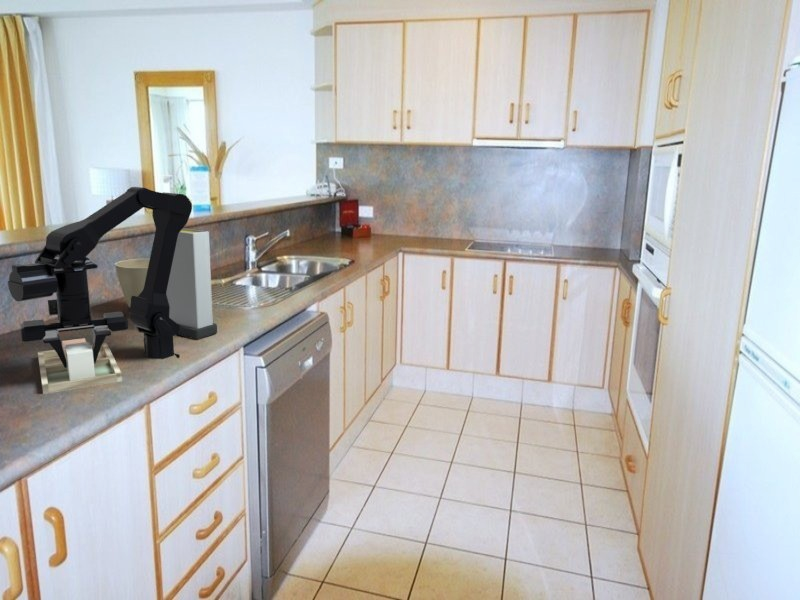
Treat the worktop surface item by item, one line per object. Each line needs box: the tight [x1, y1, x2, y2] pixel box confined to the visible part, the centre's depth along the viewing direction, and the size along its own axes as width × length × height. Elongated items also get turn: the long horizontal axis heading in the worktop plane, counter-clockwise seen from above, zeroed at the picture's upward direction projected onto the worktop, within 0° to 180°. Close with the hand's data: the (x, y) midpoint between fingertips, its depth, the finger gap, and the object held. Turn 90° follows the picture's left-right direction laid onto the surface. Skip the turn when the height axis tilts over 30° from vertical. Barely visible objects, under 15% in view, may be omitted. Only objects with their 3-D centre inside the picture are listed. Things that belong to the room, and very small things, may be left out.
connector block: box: [65, 341, 95, 380], centre depth 116 cm, size 4×7×6 cm, turn 34°
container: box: [166, 227, 218, 340], centre depth 150 cm, size 7×18×30 cm, turn 62°
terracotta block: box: [61, 337, 87, 358], centre depth 125 cm, size 4×4×4 cm
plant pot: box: [114, 258, 150, 308], centre depth 166 cm, size 15×15×16 cm
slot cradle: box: [37, 342, 123, 395], centre depth 121 cm, size 23×14×2 cm, turn 34°
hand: (80, 365), depth 116 cm, fingers open, 5 cm apart
